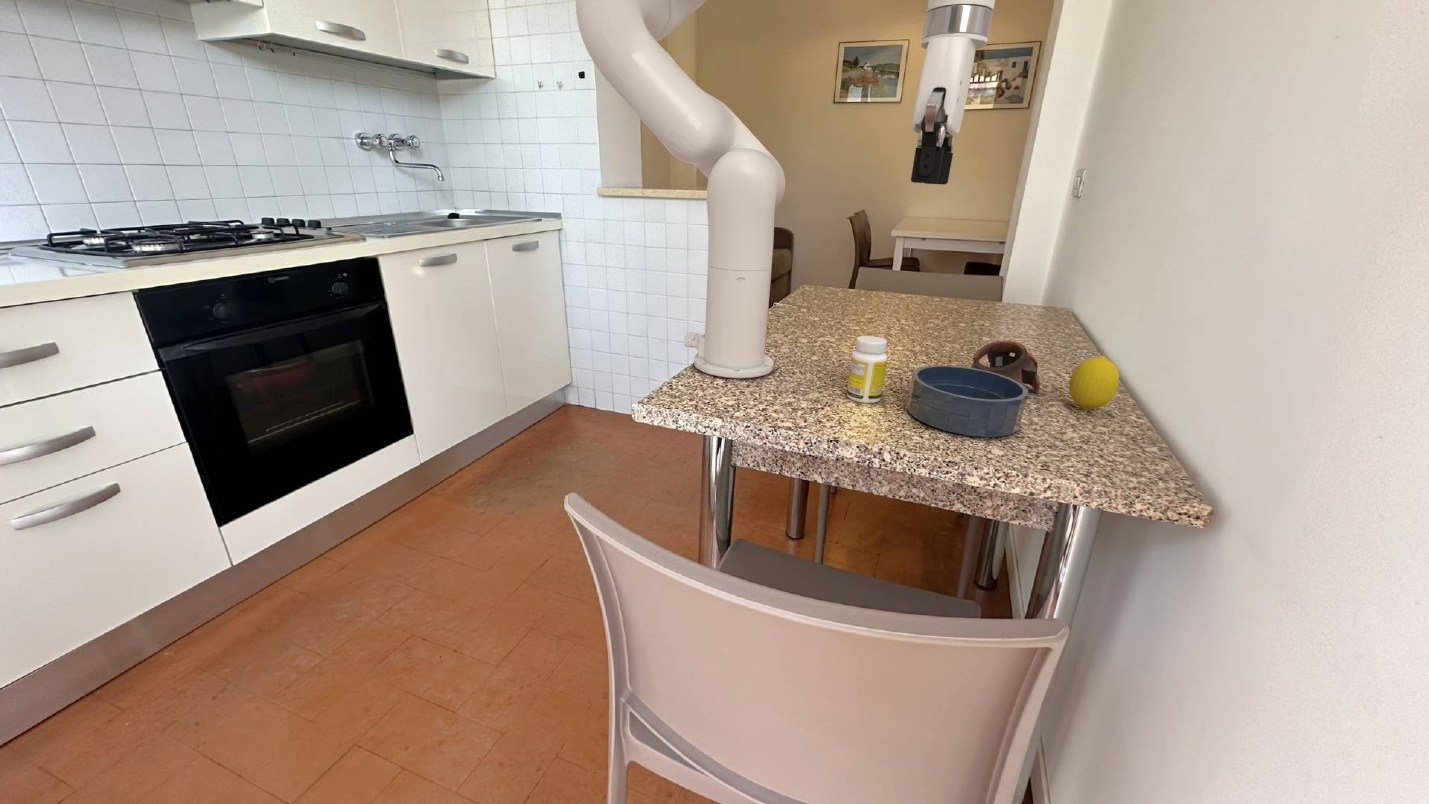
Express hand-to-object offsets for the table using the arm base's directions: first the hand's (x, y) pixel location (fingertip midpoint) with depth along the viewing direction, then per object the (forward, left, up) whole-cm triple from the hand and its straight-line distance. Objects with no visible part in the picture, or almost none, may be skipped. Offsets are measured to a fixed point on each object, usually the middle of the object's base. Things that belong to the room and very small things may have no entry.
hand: (929, 183), depth 75 cm
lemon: (+25, +5, -28) cm, 38 cm away
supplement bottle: (-3, -8, -28) cm, 30 cm away
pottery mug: (+14, +9, -28) cm, 33 cm away
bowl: (+10, -8, -28) cm, 31 cm away
